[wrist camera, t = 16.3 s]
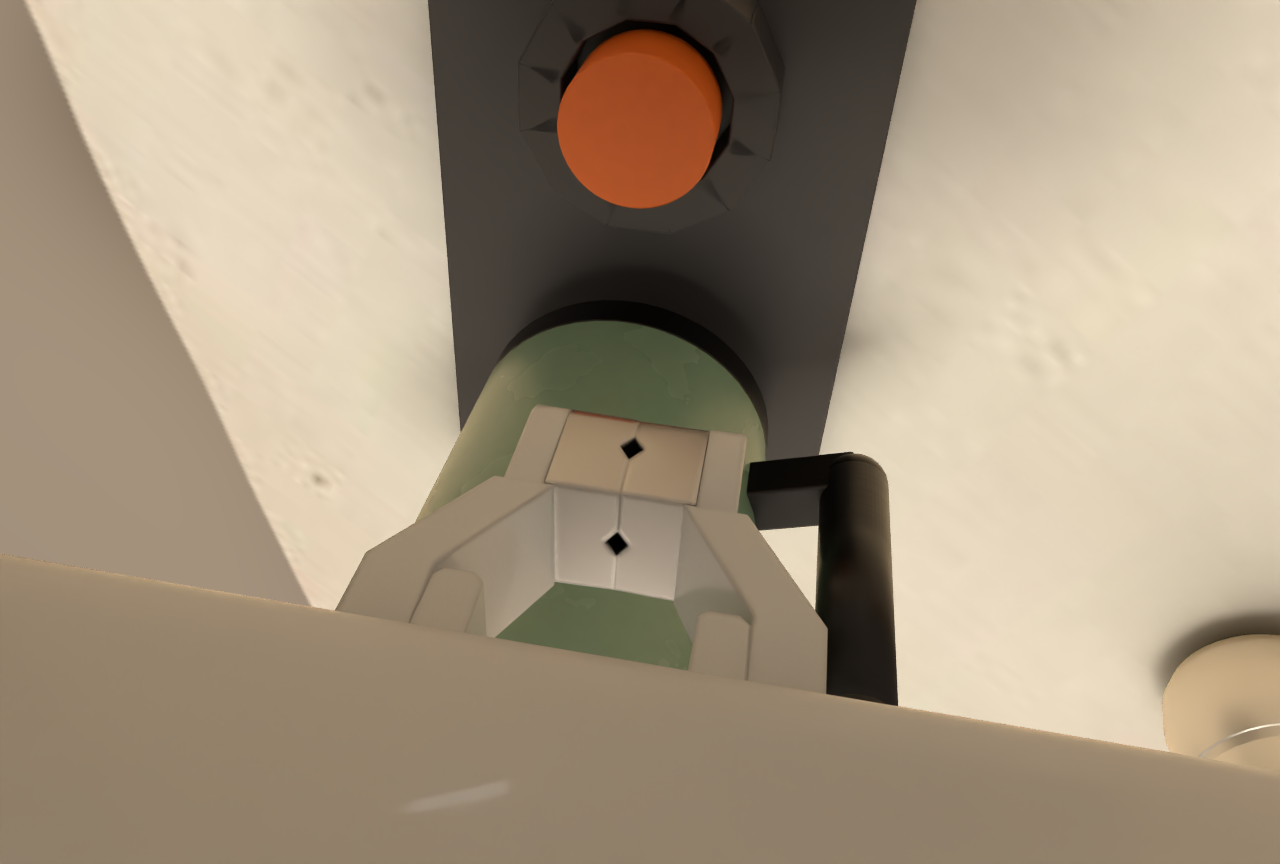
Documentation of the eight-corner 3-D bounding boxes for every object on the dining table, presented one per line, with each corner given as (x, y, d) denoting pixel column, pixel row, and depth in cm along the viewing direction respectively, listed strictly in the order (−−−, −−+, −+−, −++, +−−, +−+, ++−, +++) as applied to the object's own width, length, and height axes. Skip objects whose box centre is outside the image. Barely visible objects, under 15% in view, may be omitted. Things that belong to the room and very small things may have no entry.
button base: (429, -76, 26) (394, -55, 24) (920, -28, 25) (926, -2, 23) (467, 453, 38) (445, 497, 36) (806, 504, 37) (803, 554, 35)
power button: (575, 20, 25) (556, 44, 24) (730, 36, 25) (722, 62, 23) (573, 168, 28) (556, 199, 26) (714, 185, 27) (706, 218, 26)
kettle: (862, 255, 27) (873, 816, 14) (901, 505, 32) (936, 1089, 19) (338, 340, 32) (-23, 816, 19) (444, 545, 37) (219, 1032, 24)
